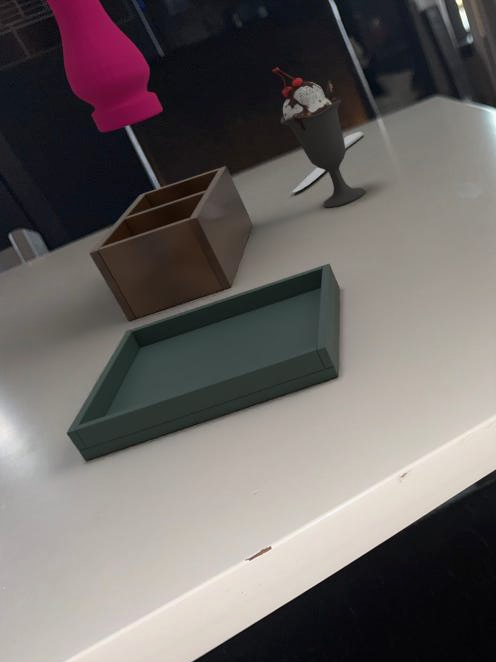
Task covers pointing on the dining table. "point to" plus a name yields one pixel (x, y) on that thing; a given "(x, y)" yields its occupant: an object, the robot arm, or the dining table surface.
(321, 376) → the tray
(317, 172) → the butter knife
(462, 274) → the dining table surface
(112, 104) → the pepper mill
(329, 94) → the sundae
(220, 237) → the divided box
